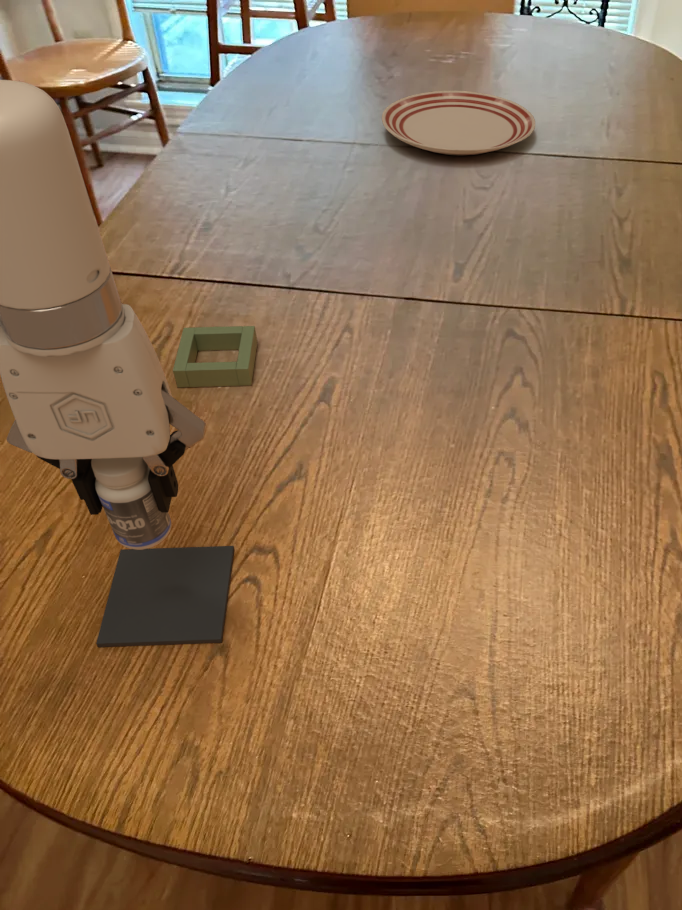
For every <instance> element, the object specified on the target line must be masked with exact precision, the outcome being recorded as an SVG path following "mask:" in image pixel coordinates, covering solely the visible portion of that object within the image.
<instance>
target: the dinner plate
mask: <svg viewBox="0 0 682 910" xmlns="http://www.w3.org/2000/svg"><path fill="white" fill-rule="evenodd" d="M381 123H382V125H383V127H384V128H385V130H386V131H388V132H389V133H390V134H391V135H392V136H393V137H395V138H396V139H398V140H399V141H402V142H403V143H405V144H407V145H409V146H413V147H415V148H418V149H422V150H424V151H428V152H432V153H436V154H442V155H447V156H448V155H449V156H473V155H481V154H485V153H489V152H494V151H499V150H501V149H505V148H508V147H511V146H513V145H515V144H517V143H520V142H522V141H524V140H525V139H527V138H528V137H530V136H531V135H532V133H533V132H534V131H535V128H536V119H535V117H534V115H533V113H532V112H530V111H529V110H528V109H527V108H526V107H525V106H522V105H521V104H519V103H517V102H515V101H513V100H510V99H508V98H504V97H501V96H498V95H493V94H489V93H484V92H478V91H477V92H476V91H468V90H436V91H435V90H434V91H427V92H420V93H415V94H412V95H408V96H405V97H402V98H399V99H397V100H395V101H393V102H392V103H390V104H389V105H388V106H387V107H385V108H384V110H383V111H382V114H381Z"/></svg>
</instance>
